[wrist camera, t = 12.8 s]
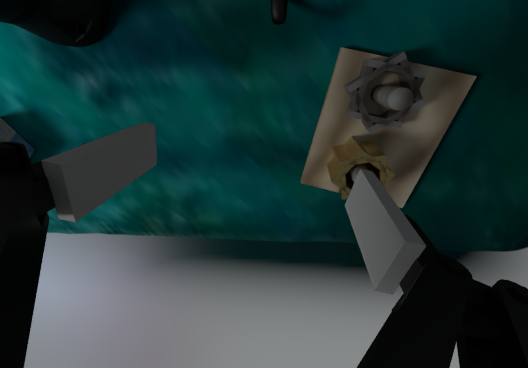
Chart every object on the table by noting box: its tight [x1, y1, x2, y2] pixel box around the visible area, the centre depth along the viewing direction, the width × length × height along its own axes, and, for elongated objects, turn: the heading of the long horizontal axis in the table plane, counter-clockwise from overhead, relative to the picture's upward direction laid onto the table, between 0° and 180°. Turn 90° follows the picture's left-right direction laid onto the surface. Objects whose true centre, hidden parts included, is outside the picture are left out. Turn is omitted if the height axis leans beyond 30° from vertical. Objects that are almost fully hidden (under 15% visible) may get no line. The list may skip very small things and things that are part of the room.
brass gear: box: [327, 136, 396, 199], centre depth 34 cm, size 8×8×7 cm
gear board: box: [301, 47, 477, 208], centre depth 32 cm, size 18×22×10 cm
